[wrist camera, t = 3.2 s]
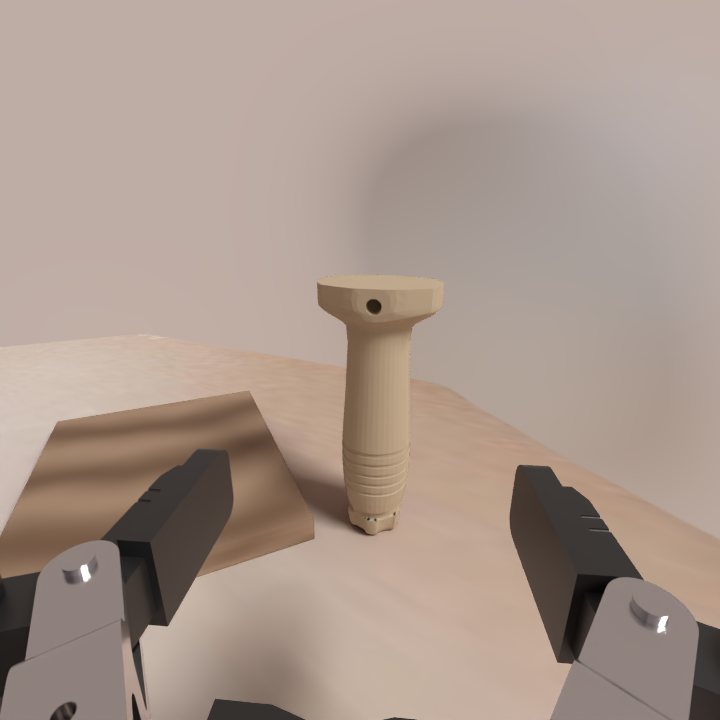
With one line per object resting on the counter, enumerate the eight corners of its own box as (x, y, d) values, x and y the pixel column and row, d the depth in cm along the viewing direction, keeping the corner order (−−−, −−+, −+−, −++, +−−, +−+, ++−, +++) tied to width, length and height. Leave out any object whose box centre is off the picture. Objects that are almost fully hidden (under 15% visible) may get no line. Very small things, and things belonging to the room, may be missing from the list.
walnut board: (61, 437, 35) (57, 421, 34) (250, 404, 41) (249, 390, 41) (-34, 651, 18) (-45, 627, 17) (314, 538, 24) (313, 517, 24)
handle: (424, 555, 23) (445, 292, 18) (315, 540, 24) (305, 286, 19) (425, 500, 27) (443, 276, 22) (333, 489, 28) (330, 273, 23)
